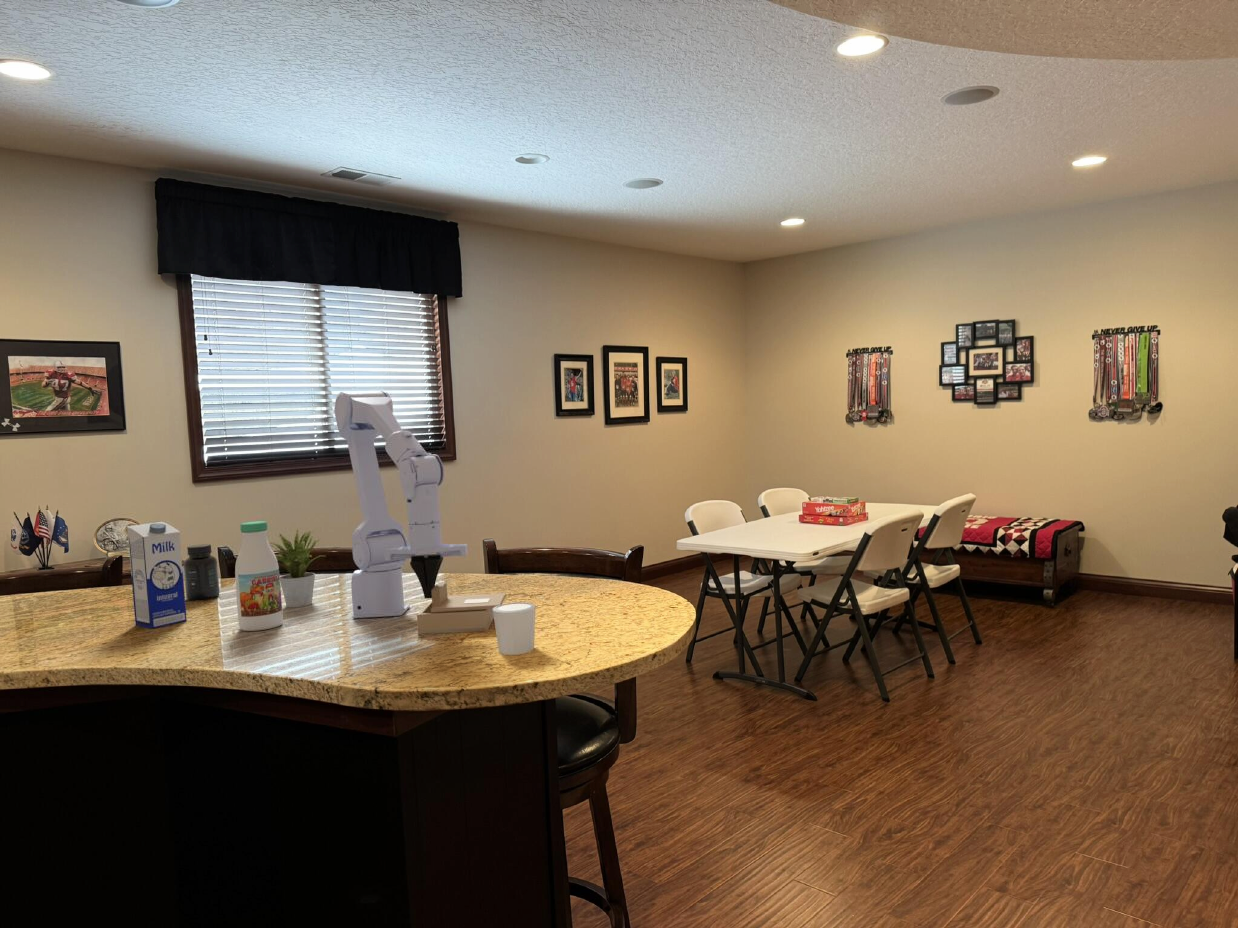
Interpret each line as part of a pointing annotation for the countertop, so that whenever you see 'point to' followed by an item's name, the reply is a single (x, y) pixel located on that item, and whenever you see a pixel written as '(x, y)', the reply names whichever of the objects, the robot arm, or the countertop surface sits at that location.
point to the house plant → (297, 570)
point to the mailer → (453, 621)
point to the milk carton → (156, 575)
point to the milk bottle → (257, 580)
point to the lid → (462, 600)
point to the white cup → (515, 627)
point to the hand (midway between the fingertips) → (429, 597)
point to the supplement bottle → (201, 573)
